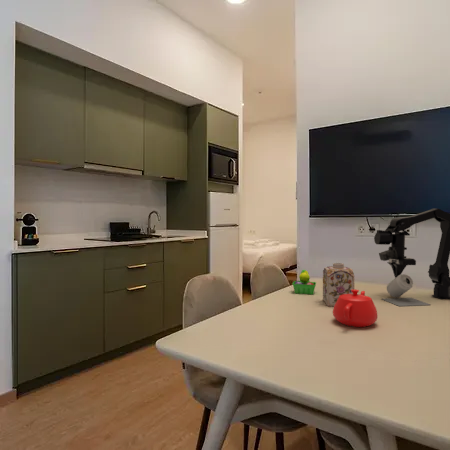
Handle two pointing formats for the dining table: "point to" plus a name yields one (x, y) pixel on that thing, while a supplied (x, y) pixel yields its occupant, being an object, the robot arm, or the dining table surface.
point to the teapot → (355, 309)
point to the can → (399, 285)
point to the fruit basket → (304, 284)
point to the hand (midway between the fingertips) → (396, 277)
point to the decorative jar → (337, 282)
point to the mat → (405, 302)
